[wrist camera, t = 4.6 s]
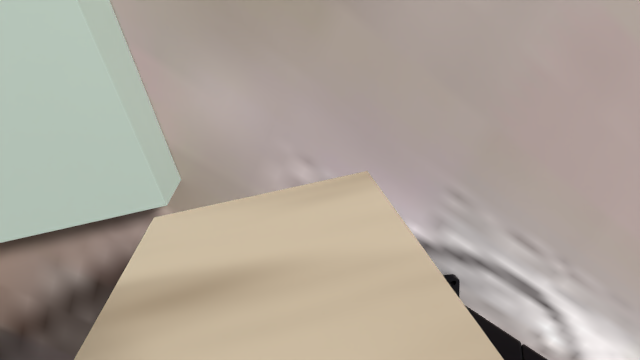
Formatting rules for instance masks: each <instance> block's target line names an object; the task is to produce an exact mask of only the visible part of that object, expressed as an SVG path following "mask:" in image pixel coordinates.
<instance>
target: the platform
mask: <svg viewBox="0 0 640 360" xmlns="http://www.w3.org/2000/svg"><path fill="white" fill-rule="evenodd" d="M180 181H181V178H180V176H179V173H178V171H177V168H176V166H175V163H174V161H173V158H172V156H171V153H170V151H169V148H168V146H167V143H166V141H165V138H164V136H163V133H162V131H161V128H160V126H159V123H158V121H157V118H156V116H155V113H154V111H153V108H152V106H151V103H150V101H149V98H148V96H147V93H146V91H145V88H144V86H143V83H142V81H141V78H140V76H139V73H138V71H137V68H136V66H135V63H134V61H133V58H132V56H131V53H130V51H129V48H128V46H127V43H126V41H125V38H124V36H123V33H122V31H121V28H120V26H119V23H118V21H117V18H116V16H115V13H114V11H113V8H112V6H111V3H110V1H109V0H0V243H2V242H6V241H11V240H15V239H19V238H24V237H28V236H33V235H37V234H42V233H46V232H51V231H55V230H60V229H64V228H68V227H73V226H77V225H82V224H86V223H91V222H95V221H100V220H104V219H109V218H113V217H118V216H122V215H126V214H131V213H135V212H140V211H144V210H149V209H153V208H158V207H162V206H167V204H168V203H169V201H170V199H171V197H172V195H173V193H174V192H175V190H176V188H177V186H178V184H179V182H180Z"/></svg>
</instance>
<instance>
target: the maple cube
mask: <svg viewBox="0 0 640 360" xmlns="http://www.w3.org/2000/svg"><path fill="white" fill-rule="evenodd" d="M74 360H504V359H503V358H502V356H501V355H500V354H499V352H498V351H497V350H496V348H495V347H494V345H493V344H492V343H491V341H490V340H489V338H488V337H487V336H486V334H485V333H484V332H483V330H482V329H481V327H480V326H479V325H478V323H477V322H476V321H475V319H474V318H473V316H472V315H471V314H470V312H469V311H468V310H467V308H466V307H465V305H464V304H463V303H462V301H461V300H460V298H459V297H458V296H457V294H456V293H455V292H454V290H453V289H452V287H451V286H450V285H449V283H448V282H447V281H446V279H445V278H444V276H443V275H442V274H441V272H440V271H439V269H438V268H437V267H436V265H435V264H434V263H433V261H432V260H431V258H430V257H429V256H428V254H427V253H426V252H425V250H424V249H423V247H422V246H421V245H420V243H419V242H418V240H417V239H416V238H415V236H414V235H413V234H412V232H411V231H410V229H409V228H408V227H407V225H406V224H405V223H404V221H403V220H402V218H401V217H400V216H399V214H398V213H397V211H396V210H395V209H394V207H393V206H392V205H391V203H390V202H389V200H388V199H387V198H386V196H385V195H384V194H383V192H382V191H381V189H380V188H379V187H378V185H377V184H376V183H375V181H374V180H373V178H372V177H371V176H370V174H369V173H368V171H365V172H361V173H356V174H352V175H347V176H343V177H338V178H333V179H329V180H324V181H320V182H315V183H310V184H306V185H301V186H297V187H292V188H287V189H283V190H278V191H274V192H269V193H265V194H260V195H255V196H251V197H246V198H242V199H237V200H232V201H228V202H223V203H219V204H214V205H210V206H205V207H200V208H196V209H191V210H187V211H182V212H177V213H173V214H168V215H164V216H159V217H154V219H153V220H152V222H151V224H150V226H149V227H148V229H147V231H146V233H145V234H144V236H143V238H142V240H141V242H140V243H139V245H138V247H137V249H136V250H135V252H134V254H133V256H132V258H131V259H130V261H129V263H128V265H127V266H126V268H125V270H124V272H123V274H122V275H121V277H120V279H119V281H118V282H117V284H116V286H115V288H114V289H113V291H112V293H111V295H110V297H109V298H108V300H107V302H106V304H105V305H104V307H103V309H102V311H101V313H100V314H99V316H98V318H97V320H96V321H95V323H94V325H93V327H92V329H91V330H90V332H89V334H88V336H87V337H86V339H85V341H84V343H83V344H82V346H81V348H80V350H79V352H78V353H77V355H76V357H75V359H74Z"/></svg>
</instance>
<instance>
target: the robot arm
mask: <svg viewBox="0 0 640 360" xmlns="http://www.w3.org/2000/svg"><path fill="white" fill-rule="evenodd" d="M444 278H445V279H446V281H447V282H448V283H449V285H450V286H451V287H452V289H453V290H454V292H455V293H456V294H457V296H458V297H459V279H458V278H457V277H456V276H455V275H453V274H451V275H446V276H444ZM451 281H452V282H451ZM465 307H466V308H467V310H468V311H469V312H470V314H471V315H472V316H473V318H474V319H475V321H476V322H477V323H478V325H479V326H480V327H481V329H482V330H483V332H484V333H485V334H486V336H487V337H488V338H489V340H490V341H491V343H492V344H493V345H494V347H495V348H496V350H497V351H498V352H499V354H500V355H501V356H502V358H503V359H504V360H547V359H546V358H544V357H543V356H541V355H540V354H538V353H537V352H535V351H533V350H532V349H530V348H529V347H527V346H526V345H524V344H523V345H522V346H521V342H520V341H518V340H517V339H515V338H514V337H512V336H511V335H509V334H508V333H506V332H505V331H503V330H502V329H500V328H499V327H497V326H495V325H494V324H492V323H491V322H489V321H488V320H486V319H485V318H483V317H482V316H480V315H479V314H477V313H476V312H474V311H473V310H471V309H470V308H468V307H467V306H465Z"/></svg>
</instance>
